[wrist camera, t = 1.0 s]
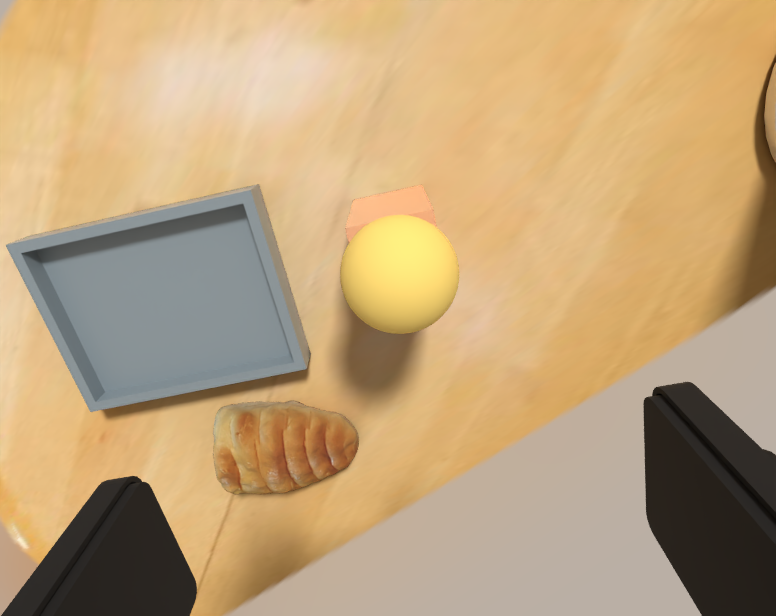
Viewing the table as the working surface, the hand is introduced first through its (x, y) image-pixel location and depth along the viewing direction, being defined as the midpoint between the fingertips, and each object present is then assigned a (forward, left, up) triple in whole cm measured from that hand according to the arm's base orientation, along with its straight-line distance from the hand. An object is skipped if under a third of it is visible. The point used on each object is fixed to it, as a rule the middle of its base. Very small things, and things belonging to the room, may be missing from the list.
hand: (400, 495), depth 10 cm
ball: (0, 0, -13) cm, 13 cm away
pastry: (+10, +13, -23) cm, 28 cm away
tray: (+14, +2, -22) cm, 26 cm away
